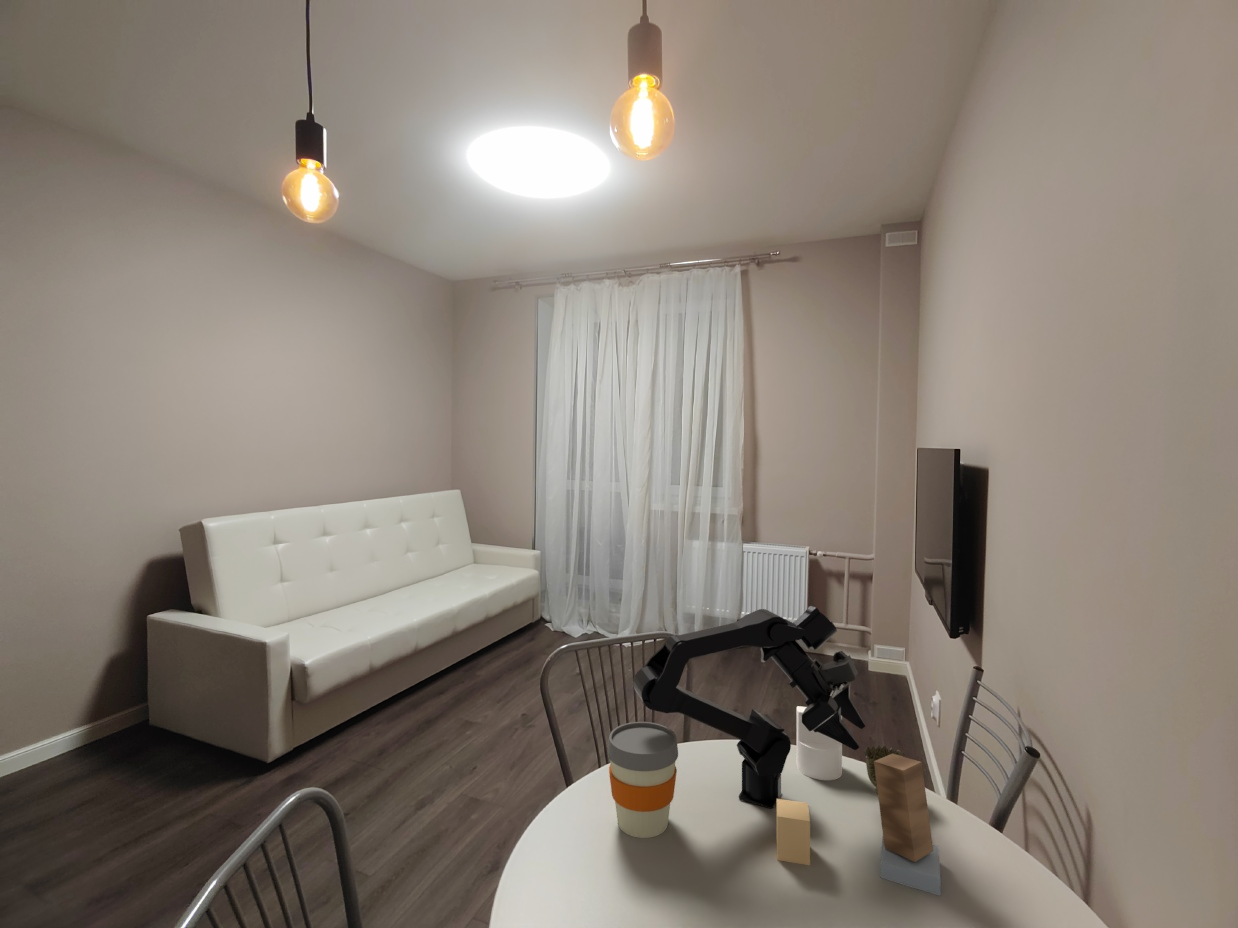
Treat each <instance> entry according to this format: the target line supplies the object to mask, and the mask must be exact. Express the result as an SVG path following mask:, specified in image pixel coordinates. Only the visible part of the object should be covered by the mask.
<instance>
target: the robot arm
mask: <svg viewBox="0 0 1238 928" xmlns="http://www.w3.org/2000/svg"><path fill="white" fill-rule="evenodd" d="M837 632H838V631H837V628H836V625H835V624H834V622H833V621H831V620H829V618H828V617H827V616H826V615H824V614H823V613H822V611H820V610H819V609H818V607H815V606H813V605H810V606H808V607H807V608H806V610H805V611H804V612H803V613H802V614H801V615H800V616H799V617H798V618H796V619H795V620H794V621H793V622H792V621H790V620H788V619H786V618H783V617H782V616H780V615H778V614H777V613H774V612H772V611H770V610H768V609H766V608H760V609H757V610H755V611H753V612H750V613H747V614H745V615H744V616H743V617H741V618H740V619H739V620H738V621H735V622H732V623H727V624H723V625H719V626H715V627H714V626H713V627H711V628H705V629H701V630H697V631H692V632H688V633H683V634H673V635H671V636H669V637H668V638H667V639H666V640H665V642H664V644H663V645H662V646H661V647H660V648H659V649H658V650H657V651H656V652H655V653H654V654H652V655H651V656H650V658H649V659H648V661H647V662H646V663H645V665H644V666H643V667H641V668H640V669H639V670H638V671H637V672H636V673H635V675H634V677H633V682H632V683H633V688H634V691H635V692H636V694H637V696H638V697H639V699H640V700H641V701H642V703H643V705H644V706H645V707H646V708H647V709H649V710H651V711H654V712H659V713H664V714H681V715H683V716H685V717H688V718H691V719H693V720H695V721H696V722H697V721H698V722H699V723H701V724H704V725H706V726H708V727H711V728H713V729H715V730H718V731H720V732H722V733H724V734H727V735H729V736H731V737H733V738H735V739H737V740H739V741H738V742H737V744H736V747H737V751H738V753H739V755H740V756H742V758H744V759H743V760H742V762H741V792H740V793H739V795H738V799H739V800H741V801H745V802H749V803H752V804H753V805H754V804H755V805H757V806H761V807H765V808H768V809H773V808H774V807H775V805H776V804H777V799H781V795H782V773H783V770H784V768H785V765H786V760H787V758H788V756H789V754H790V751H791V747H792V742H791V739H790V737H789V735H787V733H785V728H784V727H782V726H781V725H780V724H779V723H778V722H776V721H775V720H774V719H773V718H772V717H771V716H770V715H769V714H763V713H760V712H759V711H757V710H756V709H754V708H752V709H751V711H750V714H747V715H745V714H741V713H738V712H736V711H735V710H732V709H729V708H728V707H725V706H723V705H721V704H718V703H716V702H714V701H712V700H709V699H708V698H705V697H703V696H700V695H698V694H696V693H694V692H691V691H689V690H688V689H685V688H683V687H682V686H680V684H679V683H680V680H681V678H682V676H683V672H684V669H685V666H686V665H687V664H688V662H689V661H690V660H691V659H696V658H701V657H704V656H708V655H713V654H717V653H721V652H726V651H730V650H735V649H739V648H744V647H752V648H760V652H761V654H760V655H761V656H760V662H761V663H765V662H768V660H770V659H772V661H774V663H775V664H776V665H777V666H778V667H779V668H780V669H781V671H782V672H783V673H784V674H785V675H786V676H787V678H788V679H789V680H790V681H789V683H788V684H789V686H790V688H792V689H794V688H795V687H796V688H797V689H798V690H799V691H800V693H801V694H802V695H803V697H804V698H805V701H804V703H805V704H806V707H807V708H805V710H804V712H803V714H802V723H803V724H804V726H805V727H806V728H807V729H808V730H809V731H812V730H813V731H814V732H819V733H821V734H823V735H826V736H828V737H830V738H832V739H834V740H836V741H838V742H840V743H842V745H844V746H845V747H848V748H849V749H851V750H854V751H857V750H858V749H860V744H859V743H858V741H857V740H856V738H855V737H854V735H853V733H852V732H851V731H850V730H849V728H848V727H847V724H845V722H844V721H843V718H844V719H845V720H846V721H848V722H849V723H851V724H852V725H854V726H856V727H857V728H858V729H860V730H864V728H865V727H866V723H865V722H864V720H863V718H862V716H861V715H860V713H859V709H858V708H857V707H856V704H855V703H854V701H853V699H852V697H851V682H854V681H855V680H857V675H858V674H859V671H858V670H857V667H856V665H855V660H854V658H852V657H851V655H847V654H846V653H845V652H844V651H843V650H840V651H836V652H835V653H834V654H833V658H832V659H833V660H830V661H828V662H827V663H822V662H821V660H819V659H817V658H814V659H813V658H811V657H810V656H809V654H808V653H807V652H806V651H809V650H813V651H814V652H816V651H817V650H819V649H820V648H821V647H822V646H823V645H824V644H825V643H826V642H827V641H828V640H829V639H831V638H832V637H833V636H834V635H835V634H837ZM805 650H806V651H805ZM841 716H842V719H841Z"/></svg>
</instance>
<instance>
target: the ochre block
mask: <svg viewBox="0 0 1238 928" xmlns="http://www.w3.org/2000/svg"><path fill="white" fill-rule="evenodd" d="M809 811H810V810H809V803H808V802H803V801H795V800H789V799H784V798H783V799H781V798H779V799H777V801H776V860H777V861H782V862H786V863H787V862H788V863H794V864H800V865H805V866H811V818H810V812H809Z"/></svg>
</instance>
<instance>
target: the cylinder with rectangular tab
mask: <svg viewBox="0 0 1238 928" xmlns="http://www.w3.org/2000/svg"><path fill="white" fill-rule="evenodd" d="M807 707H808V706H801V705H800V706H798V705H797V706H796V768H797V770H798V771H799V773H801V774H803V775H804V776H806V777H808V778H811V779H815V780H819V781H835V780H837V779H839V778H840V777H842V775H843V744H842V743H840V742H838V741H836V740H834V739H832V738H830V737H828V736H826V735H823V734H821V733H819V732H814V731H813V730H812V731H809V730H808V729H807V728H806V727H805V726H804V724H803V723H802V714H803V712H804V710H805V708H807ZM841 719H842V720H843V716H841Z"/></svg>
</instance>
